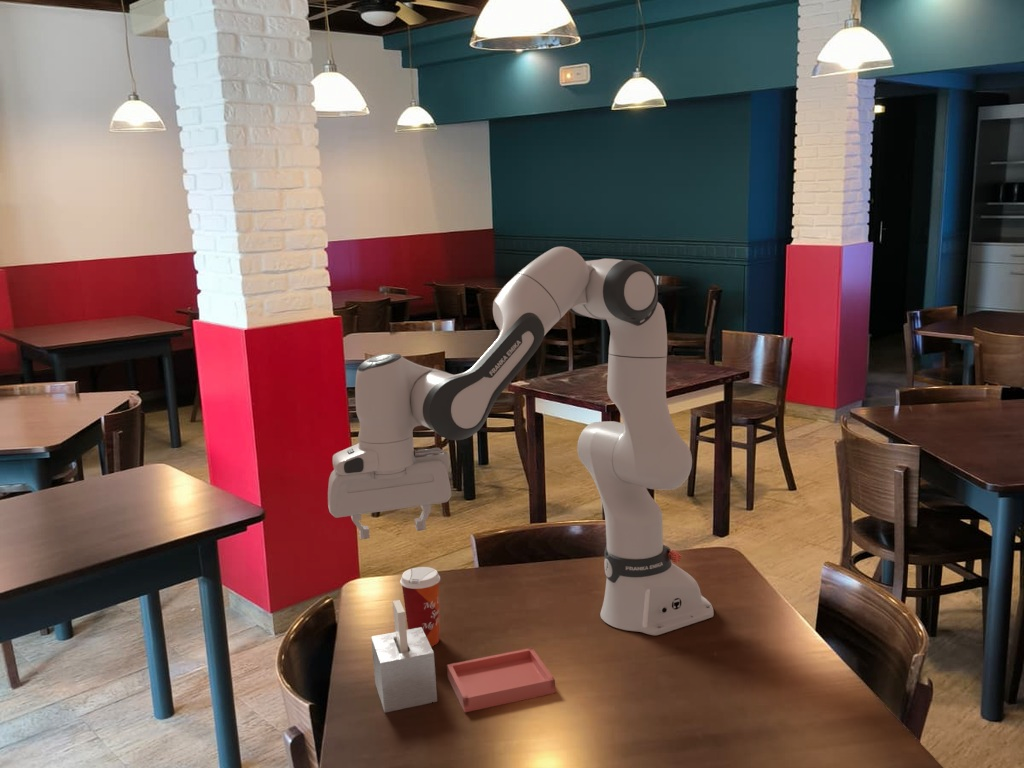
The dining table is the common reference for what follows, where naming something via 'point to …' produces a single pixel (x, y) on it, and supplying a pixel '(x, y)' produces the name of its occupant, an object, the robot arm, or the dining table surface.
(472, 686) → the tray
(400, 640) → the long rectangular block
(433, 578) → the paper cup
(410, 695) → the dispenser
